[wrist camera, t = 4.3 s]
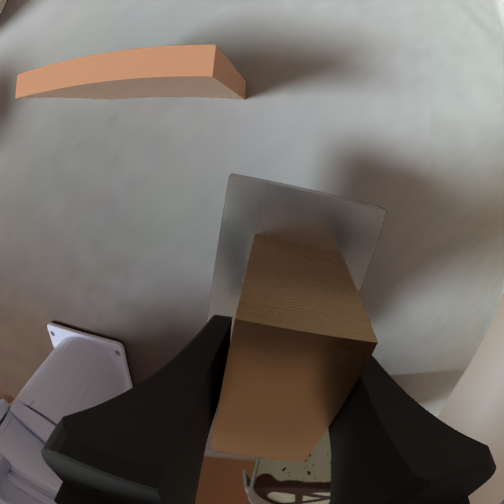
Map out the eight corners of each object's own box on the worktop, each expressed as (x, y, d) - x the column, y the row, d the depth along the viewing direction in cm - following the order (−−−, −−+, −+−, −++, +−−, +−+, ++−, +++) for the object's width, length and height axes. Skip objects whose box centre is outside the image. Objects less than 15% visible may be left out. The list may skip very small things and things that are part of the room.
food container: (257, 425, 25) (247, 521, 16) (253, 382, 22) (238, 497, 13) (389, 417, 24) (409, 507, 14) (405, 373, 21) (440, 476, 12)
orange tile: (244, 99, 15) (212, 76, 7) (111, 99, 15) (15, 98, 8) (246, 80, 14) (216, 42, 7) (112, 82, 15) (17, 72, 7)
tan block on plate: (313, 386, 15) (319, 482, 10) (203, 366, 15) (174, 462, 10) (382, 207, 11) (455, 278, 6) (231, 173, 11) (185, 220, 6)
